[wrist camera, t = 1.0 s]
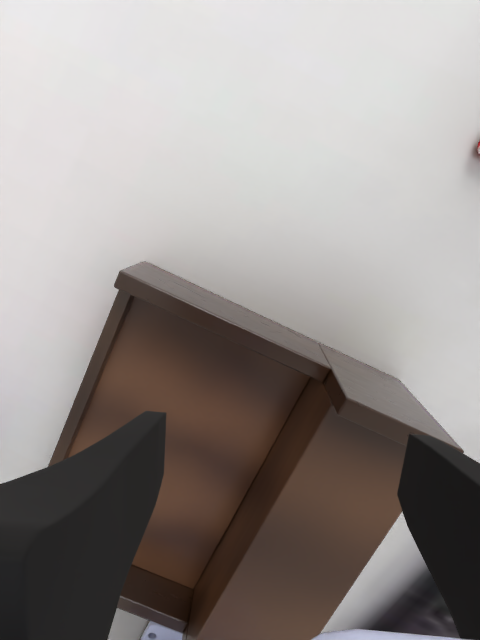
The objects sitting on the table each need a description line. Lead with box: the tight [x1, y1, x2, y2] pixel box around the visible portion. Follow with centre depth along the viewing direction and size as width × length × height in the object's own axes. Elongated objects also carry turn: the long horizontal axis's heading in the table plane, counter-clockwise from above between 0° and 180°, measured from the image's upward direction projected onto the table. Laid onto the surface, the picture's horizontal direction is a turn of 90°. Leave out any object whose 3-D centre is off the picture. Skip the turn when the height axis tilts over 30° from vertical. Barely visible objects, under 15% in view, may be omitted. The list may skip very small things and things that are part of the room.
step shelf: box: [48, 261, 464, 640], centre depth 20 cm, size 17×15×7 cm
